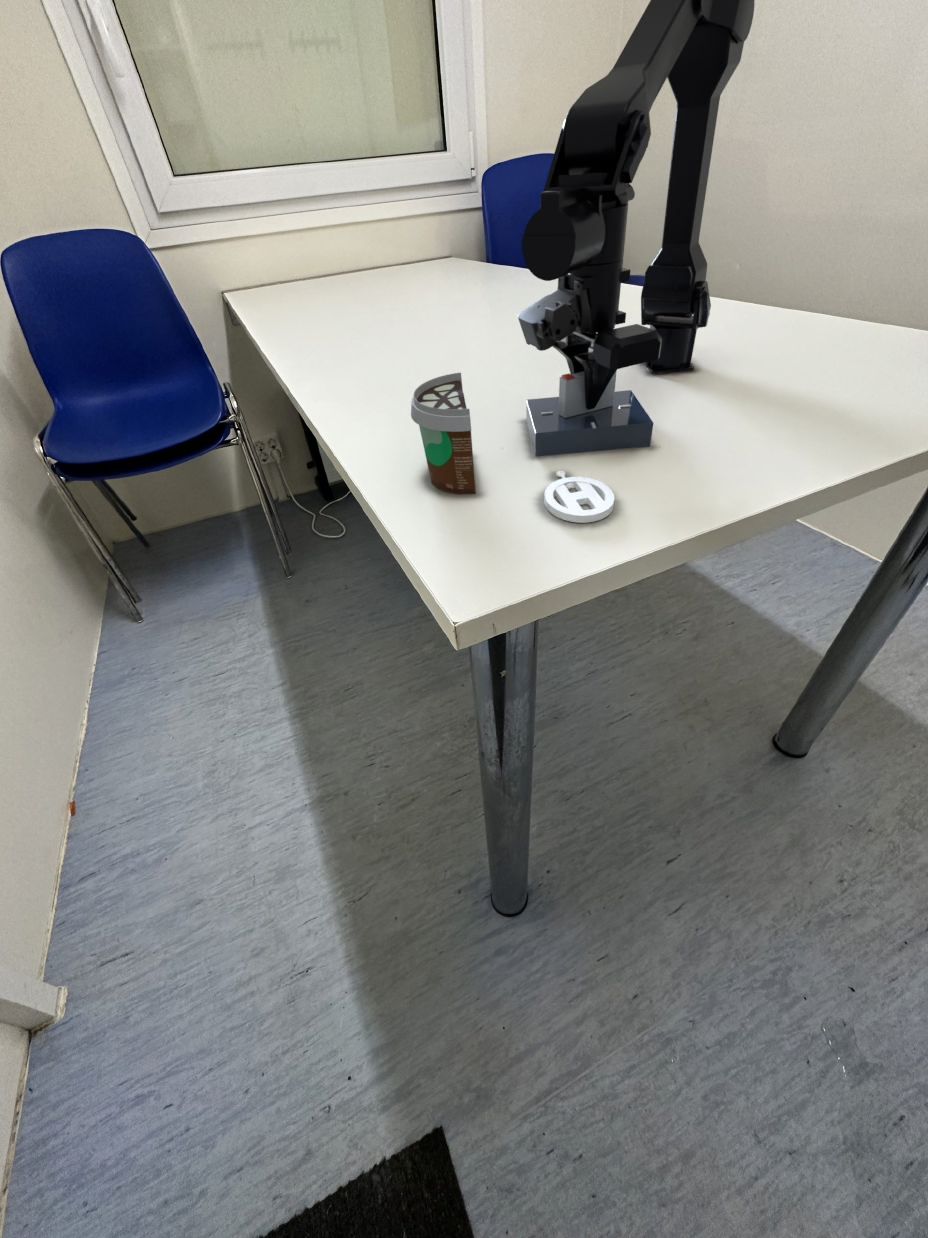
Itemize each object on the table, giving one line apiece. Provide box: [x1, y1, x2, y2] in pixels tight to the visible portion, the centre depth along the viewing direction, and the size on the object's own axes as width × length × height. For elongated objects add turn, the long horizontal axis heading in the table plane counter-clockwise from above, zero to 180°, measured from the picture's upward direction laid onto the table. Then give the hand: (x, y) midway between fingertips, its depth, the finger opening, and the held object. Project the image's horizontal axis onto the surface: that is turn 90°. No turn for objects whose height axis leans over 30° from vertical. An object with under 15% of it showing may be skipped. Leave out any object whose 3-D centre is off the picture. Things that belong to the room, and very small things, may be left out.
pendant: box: [543, 469, 615, 524], centre depth 59 cm, size 7×11×1 cm, turn 12°
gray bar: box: [558, 370, 618, 418], centre depth 67 cm, size 7×2×5 cm, turn 112°
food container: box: [410, 371, 477, 495], centre depth 62 cm, size 12×6×10 cm, turn 5°
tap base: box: [525, 389, 654, 457], centre depth 70 cm, size 14×11×3 cm
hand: (586, 406), depth 68 cm, fingers closed on gray bar, 2 cm apart
